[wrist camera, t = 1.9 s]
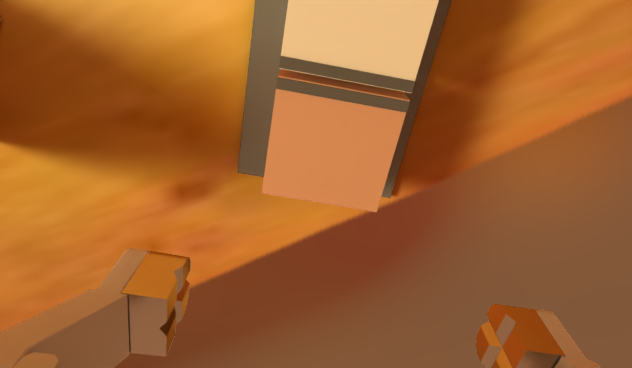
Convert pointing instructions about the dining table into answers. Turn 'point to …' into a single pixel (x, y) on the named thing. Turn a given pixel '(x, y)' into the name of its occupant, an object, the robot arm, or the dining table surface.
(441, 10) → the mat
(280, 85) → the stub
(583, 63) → the dining table surface
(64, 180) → the dining table surface
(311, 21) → the cream rectangular block
